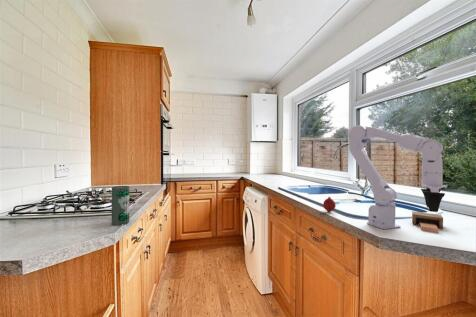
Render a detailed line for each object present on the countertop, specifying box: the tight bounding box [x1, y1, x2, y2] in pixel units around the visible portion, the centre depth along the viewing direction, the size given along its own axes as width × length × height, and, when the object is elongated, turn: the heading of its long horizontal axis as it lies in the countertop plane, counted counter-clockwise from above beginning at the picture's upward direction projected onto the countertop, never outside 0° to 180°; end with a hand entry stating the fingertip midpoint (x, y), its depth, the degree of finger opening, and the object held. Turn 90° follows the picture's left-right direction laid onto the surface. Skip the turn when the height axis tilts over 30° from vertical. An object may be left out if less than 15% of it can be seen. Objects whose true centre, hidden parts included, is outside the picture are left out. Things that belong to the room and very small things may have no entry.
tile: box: [419, 223, 439, 234], centre depth 87 cm, size 6×5×2 cm
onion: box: [322, 196, 337, 213], centre depth 112 cm, size 6×6×8 cm
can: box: [111, 185, 130, 226], centre depth 90 cm, size 6×6×15 cm
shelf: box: [411, 211, 444, 230], centre depth 93 cm, size 6×10×4 cm, turn 54°
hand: (431, 209), depth 80 cm, fingers open, 7 cm apart
